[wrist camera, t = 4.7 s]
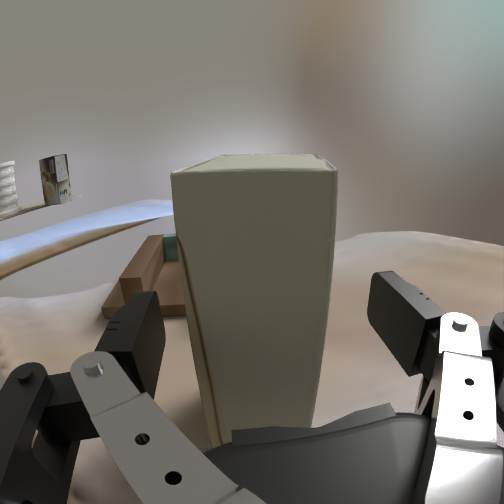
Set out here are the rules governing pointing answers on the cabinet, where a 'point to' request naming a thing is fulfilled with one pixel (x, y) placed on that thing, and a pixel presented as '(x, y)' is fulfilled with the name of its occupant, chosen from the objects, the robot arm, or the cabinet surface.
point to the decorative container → (8, 190)
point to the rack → (151, 277)
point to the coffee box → (55, 180)
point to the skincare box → (256, 284)
